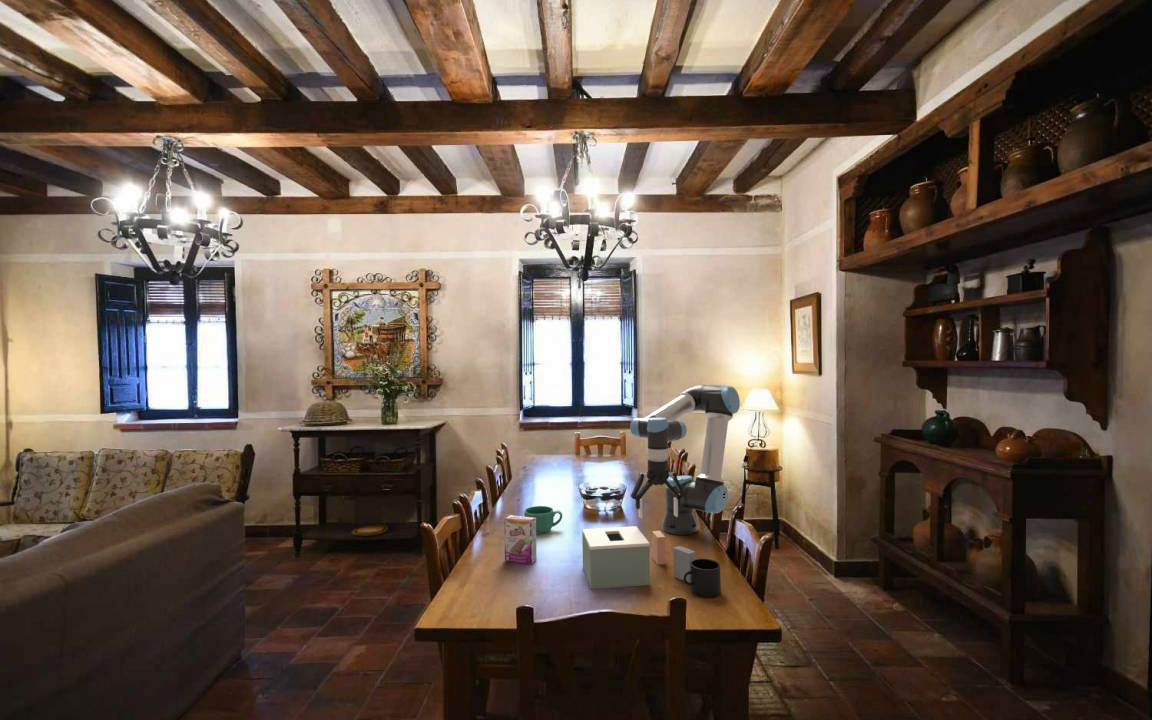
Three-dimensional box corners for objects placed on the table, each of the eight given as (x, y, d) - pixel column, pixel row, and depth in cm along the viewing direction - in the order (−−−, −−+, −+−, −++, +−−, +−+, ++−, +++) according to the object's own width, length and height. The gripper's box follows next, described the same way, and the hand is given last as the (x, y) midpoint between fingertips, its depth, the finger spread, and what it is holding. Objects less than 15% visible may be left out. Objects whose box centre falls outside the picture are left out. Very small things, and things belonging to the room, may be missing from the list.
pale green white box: (636, 564, 199) (636, 526, 199) (649, 584, 181) (649, 543, 181) (582, 567, 196) (582, 529, 196) (590, 589, 179) (590, 546, 178)
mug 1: (523, 536, 231) (522, 514, 231) (526, 526, 244) (526, 505, 244) (561, 536, 231) (561, 513, 231) (563, 526, 244) (562, 505, 244)
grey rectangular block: (679, 574, 190) (679, 545, 190) (695, 580, 184) (695, 551, 184) (673, 576, 188) (673, 547, 188) (689, 583, 182) (689, 553, 182)
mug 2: (679, 587, 179) (678, 559, 179) (714, 584, 181) (714, 557, 181) (688, 599, 170) (688, 571, 170) (725, 597, 171) (724, 568, 171)
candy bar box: (504, 562, 203) (503, 518, 203) (510, 557, 208) (509, 514, 207) (531, 565, 199) (531, 520, 199) (537, 560, 204) (536, 517, 204)
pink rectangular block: (660, 557, 206) (659, 530, 206) (665, 564, 199) (665, 536, 199) (652, 557, 206) (652, 531, 205) (657, 564, 199) (657, 537, 198)
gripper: (686, 456, 207) (687, 512, 207) (622, 458, 204) (623, 515, 204) (693, 460, 200) (693, 518, 200) (627, 462, 196) (627, 521, 197)
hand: (658, 516), depth 202 cm, fingers open, 13 cm apart
